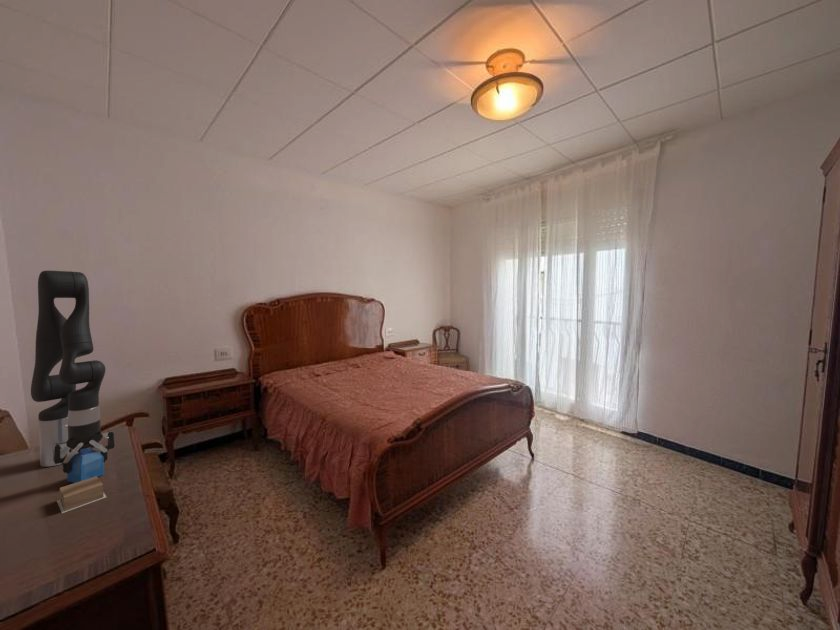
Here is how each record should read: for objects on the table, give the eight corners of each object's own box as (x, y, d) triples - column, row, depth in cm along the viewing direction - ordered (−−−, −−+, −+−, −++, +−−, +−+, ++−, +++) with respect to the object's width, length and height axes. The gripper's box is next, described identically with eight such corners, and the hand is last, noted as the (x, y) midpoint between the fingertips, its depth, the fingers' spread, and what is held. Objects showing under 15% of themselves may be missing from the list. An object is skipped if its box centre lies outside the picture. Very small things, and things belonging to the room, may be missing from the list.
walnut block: (60, 500, 95) (59, 487, 95) (97, 488, 102) (97, 476, 102) (64, 511, 91) (64, 497, 91) (103, 497, 97) (103, 484, 97)
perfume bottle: (81, 484, 103) (80, 448, 103) (67, 481, 105) (66, 446, 104) (103, 474, 109) (103, 440, 109) (90, 471, 111) (89, 438, 110)
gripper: (110, 411, 114) (111, 455, 115) (50, 424, 102) (51, 472, 103) (116, 416, 110) (117, 462, 110) (53, 430, 98) (55, 481, 99)
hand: (85, 467), depth 107 cm, fingers closed on perfume bottle, 8 cm apart
